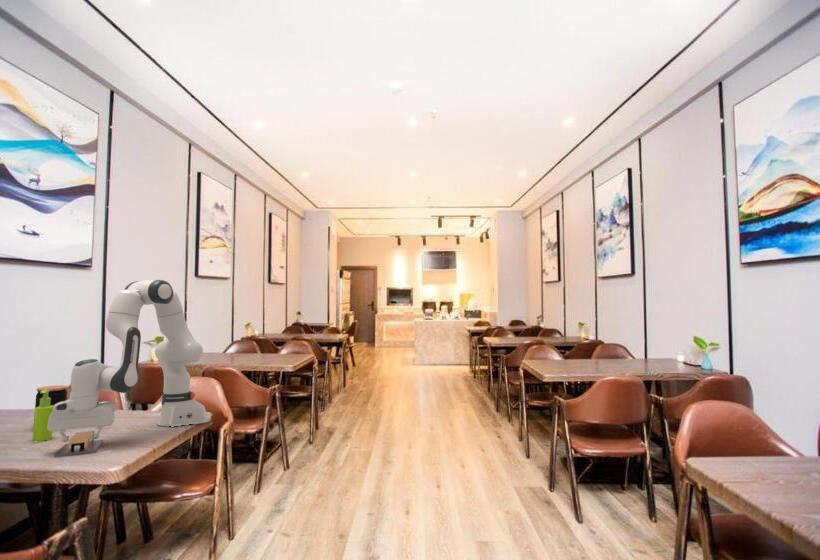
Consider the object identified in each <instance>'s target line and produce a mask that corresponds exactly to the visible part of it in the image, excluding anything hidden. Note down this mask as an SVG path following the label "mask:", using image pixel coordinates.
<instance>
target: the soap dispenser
mask: <svg viewBox="0 0 820 560" xmlns="http://www.w3.org/2000/svg"><path fill="white" fill-rule="evenodd" d="M49 391H50V390H42V391H41V392H40V394H43V398H41V399H40V405H39V407H36V408H35V407H34V415H35V416H34V417H33V427H32V428H33V431H32V442H33V441H41V442H46V441H49V439H50V440H52V436H53V431H49V430H48V429H47V425H48V420H49V416H50V414H51V413H52V412H53V406H52V405H50V402H51V398H50V397H48V394H49ZM45 440H46V441H45Z"/></svg>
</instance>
